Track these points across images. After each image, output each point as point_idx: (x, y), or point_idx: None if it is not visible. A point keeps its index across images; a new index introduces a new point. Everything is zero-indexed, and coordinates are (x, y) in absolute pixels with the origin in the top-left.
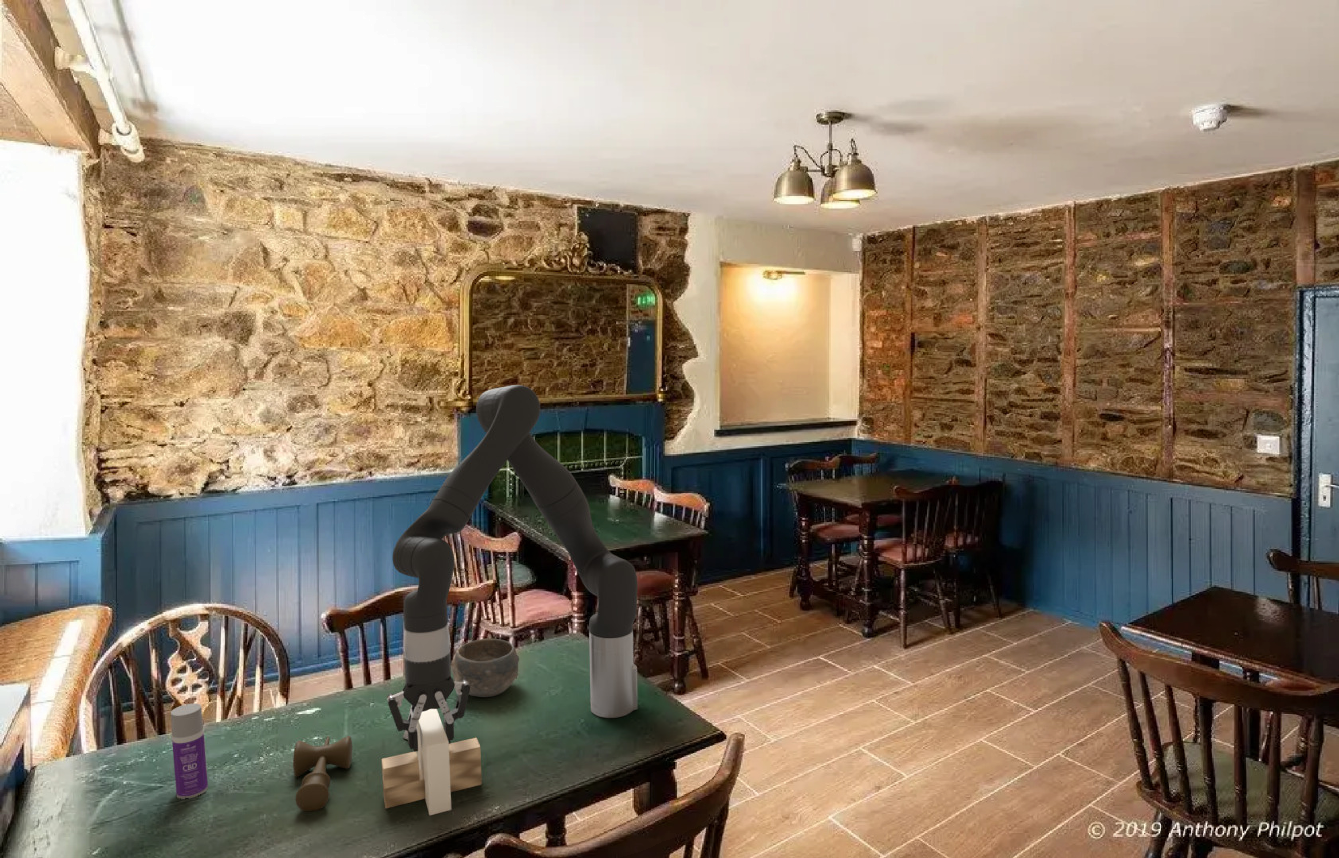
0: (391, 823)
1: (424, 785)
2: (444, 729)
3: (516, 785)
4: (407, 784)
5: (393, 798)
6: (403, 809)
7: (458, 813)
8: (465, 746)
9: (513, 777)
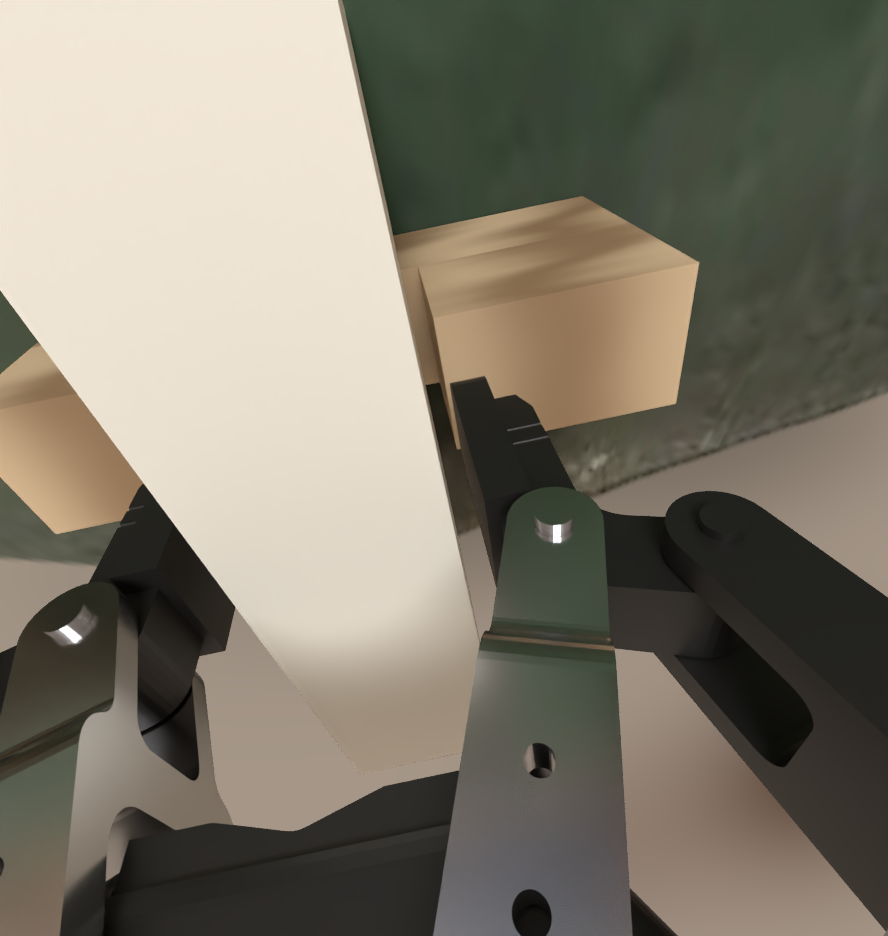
0: None
1: None
2: (469, 462)
3: (712, 347)
4: None
5: None
6: None
7: (464, 471)
8: (586, 380)
9: (729, 279)
